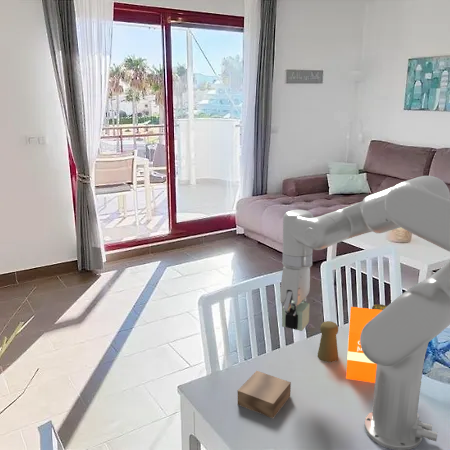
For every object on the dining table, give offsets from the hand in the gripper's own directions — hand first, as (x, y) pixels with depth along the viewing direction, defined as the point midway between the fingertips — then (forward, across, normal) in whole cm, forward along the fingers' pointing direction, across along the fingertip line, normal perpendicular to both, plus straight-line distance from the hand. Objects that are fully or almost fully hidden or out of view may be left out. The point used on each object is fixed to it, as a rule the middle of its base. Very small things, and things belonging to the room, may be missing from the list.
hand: (295, 322), depth 122 cm
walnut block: (+18, +12, -4) cm, 22 cm away
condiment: (+18, -31, +17) cm, 40 cm away
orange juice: (+18, -11, +16) cm, 26 cm away
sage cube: (+1, 0, 0) cm, 1 cm away
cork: (+18, -15, +5) cm, 24 cm away
